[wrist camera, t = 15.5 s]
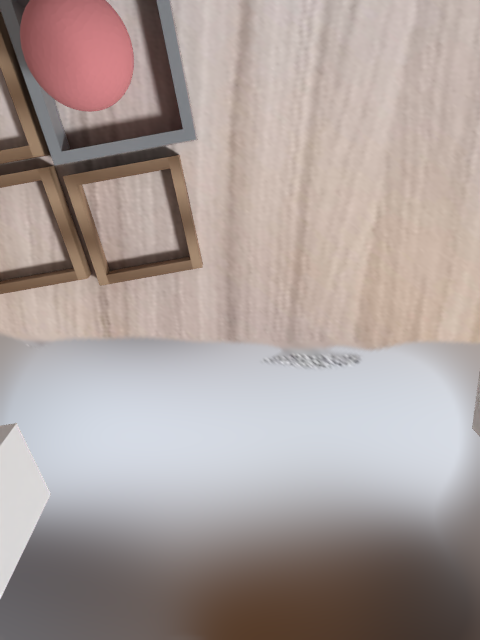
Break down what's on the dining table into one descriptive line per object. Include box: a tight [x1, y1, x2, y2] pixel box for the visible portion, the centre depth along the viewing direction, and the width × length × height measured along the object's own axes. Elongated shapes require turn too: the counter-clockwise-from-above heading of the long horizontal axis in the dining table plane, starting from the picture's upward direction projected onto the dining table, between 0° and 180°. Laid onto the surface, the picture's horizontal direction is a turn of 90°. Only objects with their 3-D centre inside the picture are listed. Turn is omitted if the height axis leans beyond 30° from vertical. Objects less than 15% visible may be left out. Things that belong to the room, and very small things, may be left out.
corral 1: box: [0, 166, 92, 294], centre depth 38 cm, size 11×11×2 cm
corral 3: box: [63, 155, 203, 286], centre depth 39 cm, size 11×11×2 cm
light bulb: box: [20, 0, 134, 112], centre depth 28 cm, size 7×7×12 cm
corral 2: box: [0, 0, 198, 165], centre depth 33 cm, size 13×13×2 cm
